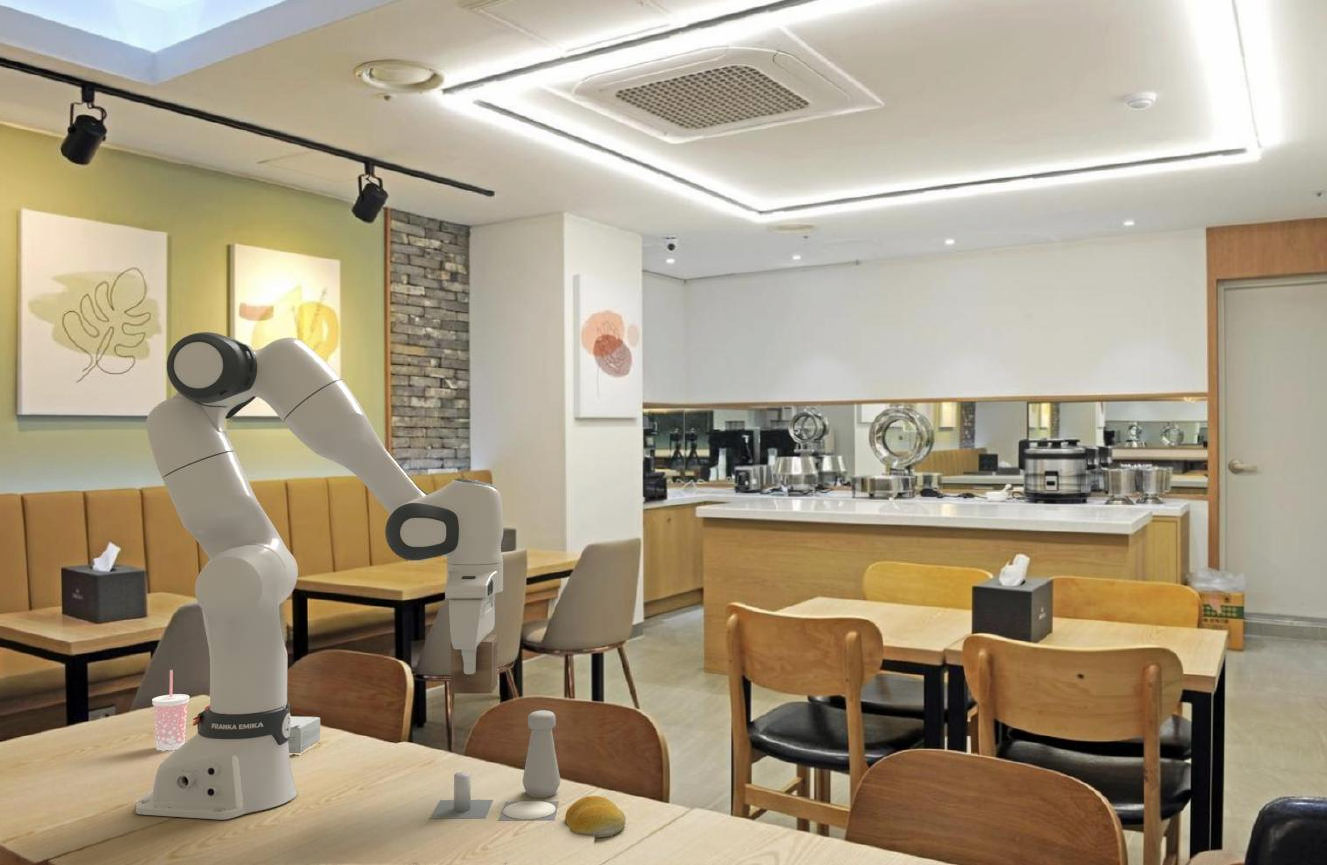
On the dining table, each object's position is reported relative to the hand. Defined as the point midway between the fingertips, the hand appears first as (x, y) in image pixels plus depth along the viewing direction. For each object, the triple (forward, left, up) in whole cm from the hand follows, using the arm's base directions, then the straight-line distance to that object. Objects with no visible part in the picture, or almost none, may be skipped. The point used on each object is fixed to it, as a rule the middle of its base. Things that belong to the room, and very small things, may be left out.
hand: (474, 668), depth 161 cm
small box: (-37, +24, -20) cm, 48 cm away
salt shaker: (+11, -4, -19) cm, 22 cm away
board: (0, -11, -19) cm, 22 cm away
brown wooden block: (0, 0, -3) cm, 3 cm away
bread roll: (+20, -17, -20) cm, 32 cm away
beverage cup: (-59, +25, -19) cm, 67 cm away
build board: (+10, -12, -19) cm, 24 cm away
